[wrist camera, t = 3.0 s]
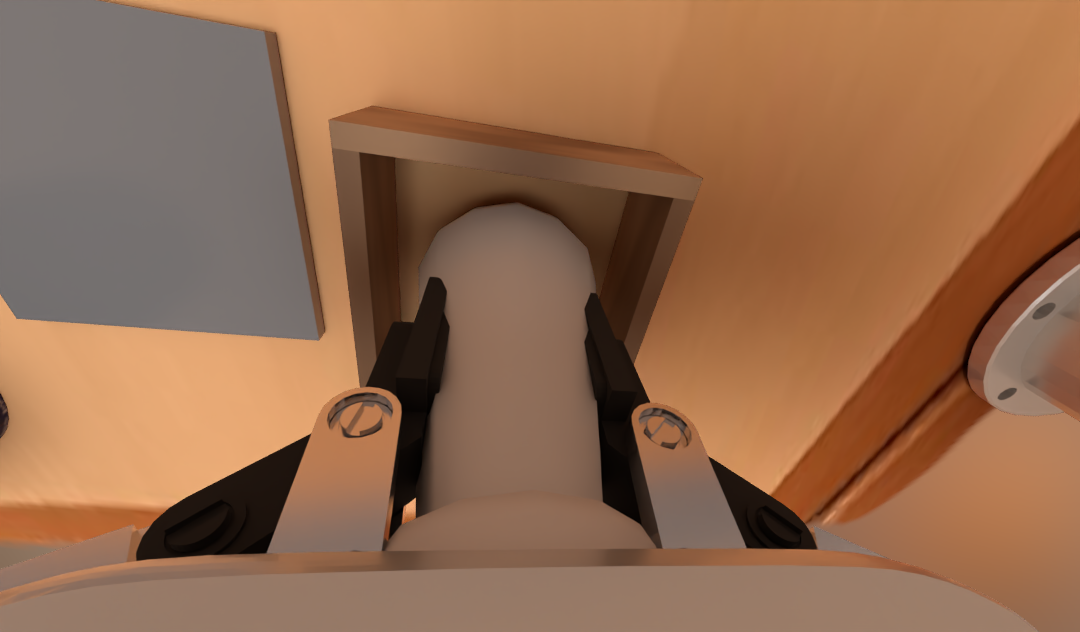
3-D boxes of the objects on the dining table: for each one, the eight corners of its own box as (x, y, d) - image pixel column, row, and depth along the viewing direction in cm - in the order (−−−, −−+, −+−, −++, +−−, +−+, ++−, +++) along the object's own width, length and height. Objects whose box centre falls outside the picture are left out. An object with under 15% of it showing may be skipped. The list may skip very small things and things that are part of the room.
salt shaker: (478, 148, 13) (335, 688, 2) (612, 238, 15) (935, 737, 4) (404, 284, 15) (146, 869, 4) (527, 344, 17) (576, 837, 6)
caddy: (657, 152, 13) (702, 178, 10) (594, 362, 18) (612, 420, 15) (371, 105, 12) (328, 119, 9) (387, 347, 16) (362, 408, 14)
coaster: (275, 32, 11) (264, 31, 10) (324, 331, 16) (319, 340, 15) (-197, -55, 9) (-238, -62, 8) (33, 309, 14) (16, 318, 14)
